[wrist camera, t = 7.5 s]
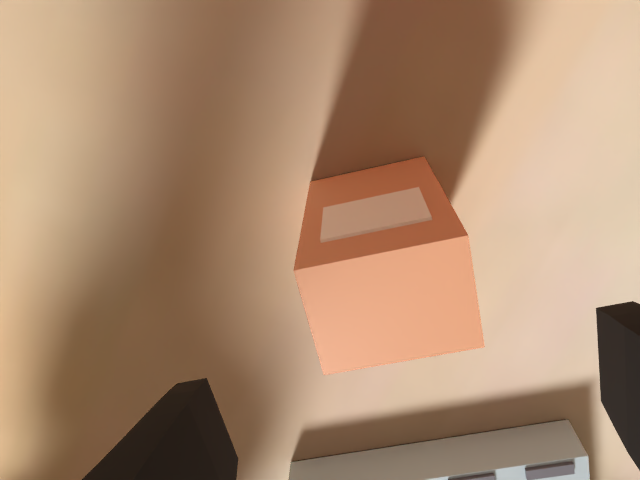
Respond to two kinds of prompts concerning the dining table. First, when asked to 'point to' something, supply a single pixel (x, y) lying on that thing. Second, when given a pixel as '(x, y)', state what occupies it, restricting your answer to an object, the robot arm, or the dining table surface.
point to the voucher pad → (463, 458)
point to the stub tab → (385, 269)
